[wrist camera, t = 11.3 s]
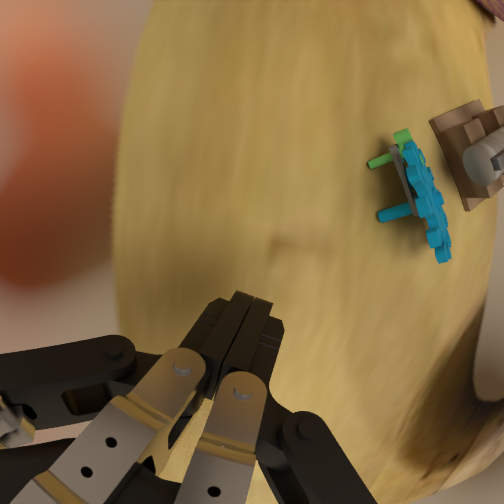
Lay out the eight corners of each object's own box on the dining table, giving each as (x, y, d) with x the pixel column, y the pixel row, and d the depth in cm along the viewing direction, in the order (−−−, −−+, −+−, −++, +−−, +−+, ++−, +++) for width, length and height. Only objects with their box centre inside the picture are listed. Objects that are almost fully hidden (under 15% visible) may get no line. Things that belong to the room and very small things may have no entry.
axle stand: (457, 217, 23) (513, 223, 15) (419, 125, 21) (473, 103, 13) (505, 177, 22) (552, 176, 14) (475, 100, 21) (520, 84, 13)
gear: (459, 244, 22) (454, 278, 15) (407, 257, 26) (379, 292, 19) (423, 134, 21) (401, 114, 14) (373, 154, 26) (330, 147, 19)
